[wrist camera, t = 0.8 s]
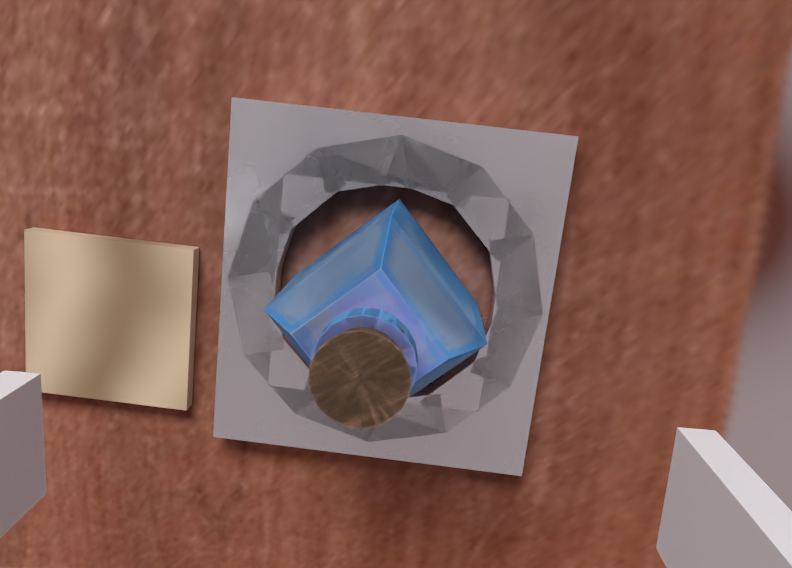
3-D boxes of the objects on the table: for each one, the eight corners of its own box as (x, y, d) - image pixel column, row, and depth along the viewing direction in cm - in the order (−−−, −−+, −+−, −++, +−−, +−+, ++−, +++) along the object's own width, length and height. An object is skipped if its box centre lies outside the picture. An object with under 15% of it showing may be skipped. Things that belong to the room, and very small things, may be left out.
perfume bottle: (373, 376, 34) (341, 508, 22) (294, 275, 33) (218, 357, 21) (477, 304, 33) (502, 402, 21) (399, 198, 32) (379, 239, 20)
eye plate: (220, 426, 35) (213, 436, 33) (239, 98, 31) (231, 97, 30) (518, 464, 34) (521, 476, 33) (572, 136, 31) (578, 136, 29)
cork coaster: (35, 384, 35) (26, 390, 34) (33, 227, 33) (24, 229, 32) (192, 404, 34) (186, 410, 34) (199, 247, 33) (193, 250, 32)
